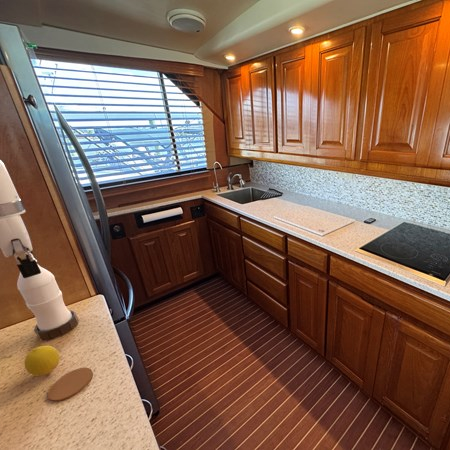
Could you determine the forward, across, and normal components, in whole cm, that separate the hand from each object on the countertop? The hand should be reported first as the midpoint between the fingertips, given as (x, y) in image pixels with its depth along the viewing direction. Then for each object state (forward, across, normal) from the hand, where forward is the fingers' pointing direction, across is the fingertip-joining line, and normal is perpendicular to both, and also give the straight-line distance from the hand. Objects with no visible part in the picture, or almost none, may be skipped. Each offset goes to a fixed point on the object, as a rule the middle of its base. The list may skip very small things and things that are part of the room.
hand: (30, 269), depth 65 cm
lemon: (+21, +18, -4) cm, 28 cm away
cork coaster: (+21, +26, -2) cm, 33 cm away
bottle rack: (+21, 0, 0) cm, 21 cm away
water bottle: (+21, 0, 0) cm, 21 cm away
